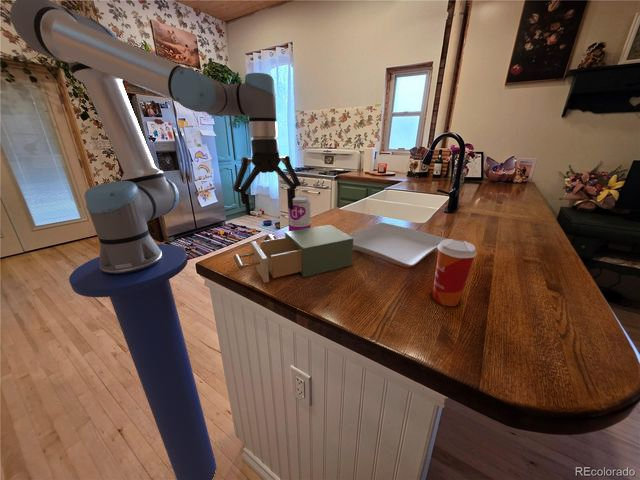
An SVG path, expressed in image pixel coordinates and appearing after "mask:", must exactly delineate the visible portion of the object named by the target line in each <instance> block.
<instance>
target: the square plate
mask: <svg viewBox="0 0 640 480" xmlns="http://www.w3.org/2000/svg"><path fill="white" fill-rule="evenodd" d="M347 235H348V236H350V237H352V238H353V250H356V251H358V252H361V253H363V254H366V255H369V256H372V257H375V258H377V259H380V260H383V261H385V262H388V263H391V264H393V265H397V266H401V267H403V268H406V269H407V268H409V269H410V268H412V267H414V266H416V265H417V264H418V263H419V262H421V261H422V260H424V258H426V257H427V256H429V255H430V254H432V253H433V252H435V251H437V250H438V248H437V246H438V245H439V244H440V242H441V241H442V240H445V239H447V238H446V237H442V236H439V235H435V234H431V233H428V232H424V231H420V230H416V229H413V228H409V227H405V226H401V225H395V224H391V223H387V222H382V221H381V222H378V223H375V224H373V225H370V226H366V227H365V228H362V229H359V230H356V231H353V232H351V233H348V234H347Z"/></svg>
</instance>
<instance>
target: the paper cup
mask: <svg viewBox="0 0 640 480" xmlns="http://www.w3.org/2000/svg"><path fill="white" fill-rule="evenodd" d="M437 248H438V249H437V250H438V251H437V259H436V265H435V273H434V280H433V281H434V282H433V289H432V299H433V300H434V301H435V302H436V303H438V304H440V305H442V306H446V307H455V306H457V305H459V302H460V300H461V297H462V294H463V291H464V288H465V285H466V282H467V280H468V276H469V273H470V270H471V268H472V264H473V262H474V259H475V257H477V255H478V254H477V249H476V246H475V245H474V244H473V243H471V242H469V241H466V240H465V241H463V240H460V239H454V238H446V239H445V240H442V241H441V242H440V244H439V245H438V246H437Z"/></svg>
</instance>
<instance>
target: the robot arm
mask: <svg viewBox="0 0 640 480" xmlns="http://www.w3.org/2000/svg"><path fill="white" fill-rule="evenodd" d="M9 15H10V21H11V24H12V27H13V28H14V31H15V32H16V34H17V35H18V36H19V38H21V40H22V41H23V42H24V43H25V44H26V45H27V46H29V47H30V48H31V49H33V50H34V51H35V52H37V53H39V54H40V55H43V56H44V57H47V58H50V59H53V60H55V61H59V62H63V63H67V65H68V67H69V69H70V71H71V74H72V76H73V78H74V79H75V80H77V81H79V82H81V83H82V84H83V85H84V87H85V89H86V92H87V94H88V95H89V98H90V100H91V102H92V104H93V107H94V109H95V111H96V113H97V115H98V118H99V121H100V122H101V124H102V126H103V130H104V132H105V133H106V135H107V138H108V141H109V143H110V144H111V147H112V149H113V152H114V153H115V156H116V158H117V160H118V162H119V165H120V167H121V170H122V171H123V174H122V176H121V178H120V180H118V181H111V182H105V183H101V184H97V185H94V186H91V187H90V188H88V189H86V191H85V193H84V200H85V204H86V206H85V207H86V210H87V211H88V213H89V217H90V219H91V221H92V225H93V227H94V230H95V233H96V236H97V238H98V239H97V240H98V241H99V244H100V245H99V248H100V249H99V256H100V258H99V267H100V270H101V272H102V273H103V274H105V275H111V276H119V275H128V274H133V273H137V272H140V271H143V270H146V269H149V268H151V267H153V266H155V265H156V264H158V263H159V262H160V261H161V260H162V258H163V256H162V252H161V250H160V249H159V247H158V246H157V245H156V244H157V243H156V242H155V240H154V239H153V237H152V236H151V234H150V231H149V228H148V222H150V221H152V220H154V219H157V218H159V217H161V216H166V215H167V214H169V213H170V212H172V211H174V210H175V209H176V207H177V206H178V205H179V203H180V202H179V201H180V193H179V189H178V187H177V186H176V184H175V183H174V182H173V181H171V179H168V178H166V176H165V173H164V171H163V170H161V169H159V168H158V167H156V165H155V163H154V162H155V161H154V159H153V157H152V155H151V152H150V150H149V147H148V145H147V142H146V140H145V137H144V135H143V133H142V131H141V127H140V125H139V123H138V119H137V117H136V115H135V113H134V110H133V108H132V105H131V103H130V100H129V97H128V95H127V92H126V90H125V87H124V84H123V81H124V82H127V83H130V84H132V85H134V86H137V87H139V88H142V89H144V90H147V91H148V92H152V93H154V94H156V95H159V96H161V97H164V98H167V99H169V100H171V101H173V102H176V103H179V105H180V106H182V107H183V108H185V109H187V110H190V111H193V112H198V113H200V112H201V113H206V114H207V115H209V116H215V117H223V116H224V117H227V116H229V117H230V116H233V117H234V116H248V122H249V133H250V137H251V138H252V139H251V140H250V143H251V153H252V154H251V155H252V156H251V157H245V156H242V157H241V159H240V160H241V161H240V162H241V165H240V168H239V171H238V173H237V176H236V179H235V182H234V184H233V187H232V191H234V192H236V193H239V194H240V203H241V204H242V205H244V206H245V213H246V215H247V216H251V214H252V213H251V212H252V211H251V205H250V196H249V193H248V192H247V191H248V190H249V188H250V186H251V185H252V184H253V182H254V181H255V179H256V178H257V177H258V176H259V175H260V174H261V173H262V174H266V173H274V172H275V173H276V174H277V175H278V176H279V177H280V178H281V179H282V180H283V181H284V183H285V184H286V185H287V186H288V187H287V188H286V197H287V209H288V208H289V209H291V210H292V209H293V198H295V196H296V189H297V187H300V186H301V182H300V179H299V177H298V176H297V174H296V172H295V169H294V168H293V166H292V163H291V157H290V156H289V155H282V156H280V150H279V149H280V147H279V140H278V139H277V138H278V137H279V133H278V119H277V99H276V98H277V95H276V90H275V89H276V88H275V80H274V78H273V76H271V74H268V73H265V72H250V73H246V74H245V76H244V83H224V82H222V81H219V80H218V79H215V78H212V77H210V76H207V75H206V74H203V72H199V71H196V70H194V69H190V68H188V67H186V66H183V65H181V64H178V63H176V62H174V61H172V60H168V59H167V58H164V57H162V56H160V55H157V54H154V53H152V52H150V51H147V50H145V49H143V48H140V47H138V46H135V45H132V44H131V43H128V42H126V41H123V40H121V39H120V38H119V37H118V36H117V35H116V34H115V33H114V32H113V31H112V30H110V28H108V26H105V25H103V24H101V23H100V22H99V21H97V20H95V19H93V18H91V17H88V16H84V15H82V14H80V13H77V12H75V11H73V10H71V9H69V8H67V7H65V6H62V5H59V4H58V3H56V2H54V1H51V0H15V1H14V2H12V4H11V7H10V11H9ZM280 163H282V164H283V165H284V167H285V169H286V170H287V173H288V174H289V176H290V178H291V179H290V178H289V177H288V176H287V174H286V173H285V172H284V171H283V170H282V168H281V167H280V166H279V165H280ZM251 164H252V165H253V166H254V167H253V168H252V170H251V172H250V173H249V175H248V177H246V179H245V181H244V178H245V175H246V173H247V170H248V167H249V166H250V165H251ZM243 181H244V182H243ZM242 183H243V184H242Z"/></svg>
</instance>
